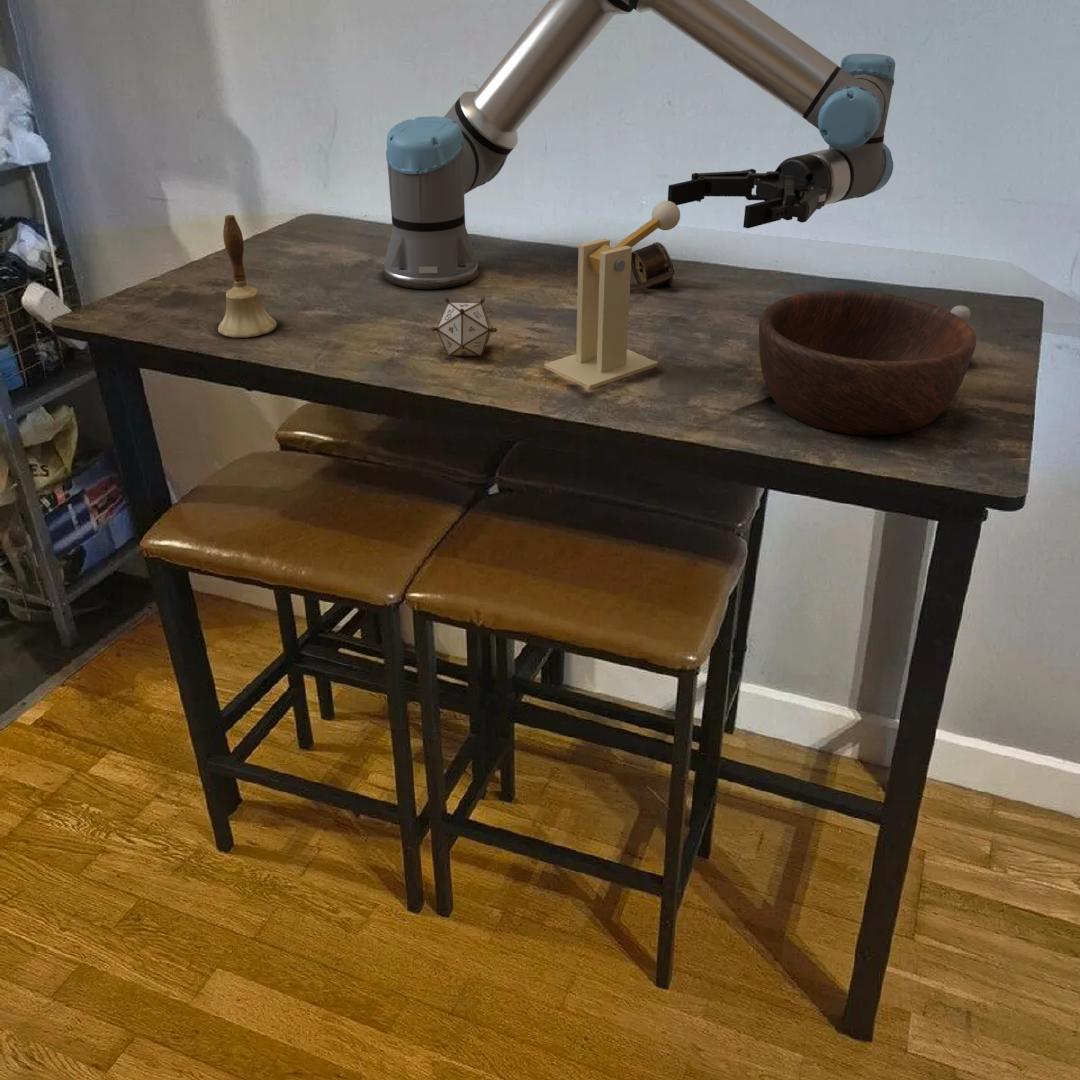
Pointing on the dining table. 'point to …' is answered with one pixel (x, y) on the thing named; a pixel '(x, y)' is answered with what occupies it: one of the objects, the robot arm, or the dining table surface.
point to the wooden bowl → (863, 360)
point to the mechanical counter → (651, 267)
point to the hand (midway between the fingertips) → (706, 206)
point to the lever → (643, 230)
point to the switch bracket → (602, 321)
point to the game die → (464, 328)
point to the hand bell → (241, 293)
